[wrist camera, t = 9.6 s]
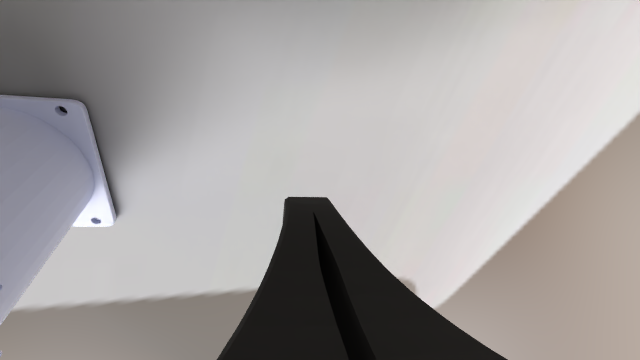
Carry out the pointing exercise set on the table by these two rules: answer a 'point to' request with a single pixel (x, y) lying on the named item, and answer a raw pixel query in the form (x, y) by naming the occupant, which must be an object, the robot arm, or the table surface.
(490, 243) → the table surface
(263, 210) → the table surface
